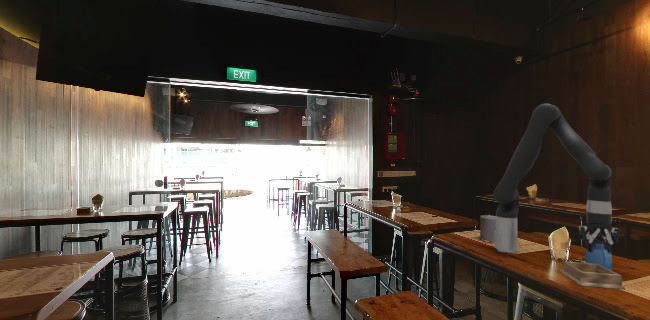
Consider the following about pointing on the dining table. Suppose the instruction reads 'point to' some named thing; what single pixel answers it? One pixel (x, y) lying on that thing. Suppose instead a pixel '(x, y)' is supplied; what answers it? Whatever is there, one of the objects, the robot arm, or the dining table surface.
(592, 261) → the perfume bottle
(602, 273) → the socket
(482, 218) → the pillar candle
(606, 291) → the dining table surface
